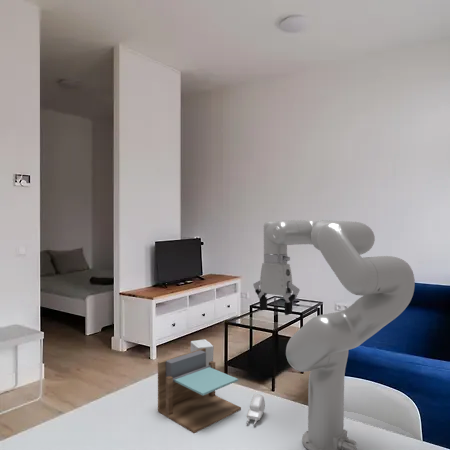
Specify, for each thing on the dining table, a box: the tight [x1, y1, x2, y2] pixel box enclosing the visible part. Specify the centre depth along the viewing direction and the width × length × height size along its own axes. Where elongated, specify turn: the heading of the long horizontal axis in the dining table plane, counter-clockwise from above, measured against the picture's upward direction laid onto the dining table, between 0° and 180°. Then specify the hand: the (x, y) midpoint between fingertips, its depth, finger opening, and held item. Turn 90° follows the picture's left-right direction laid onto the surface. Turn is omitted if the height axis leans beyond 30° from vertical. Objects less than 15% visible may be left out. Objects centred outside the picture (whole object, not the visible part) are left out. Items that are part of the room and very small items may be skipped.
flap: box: [166, 350, 239, 395], centre depth 129 cm, size 18×16×6 cm
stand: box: [157, 348, 242, 434], centre depth 130 cm, size 18×20×16 cm
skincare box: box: [189, 338, 214, 366], centre depth 150 cm, size 8×7×16 cm
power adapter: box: [246, 393, 266, 427], centre depth 124 cm, size 10×4×5 cm, turn 157°
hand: (275, 311), depth 130 cm, fingers open, 9 cm apart
